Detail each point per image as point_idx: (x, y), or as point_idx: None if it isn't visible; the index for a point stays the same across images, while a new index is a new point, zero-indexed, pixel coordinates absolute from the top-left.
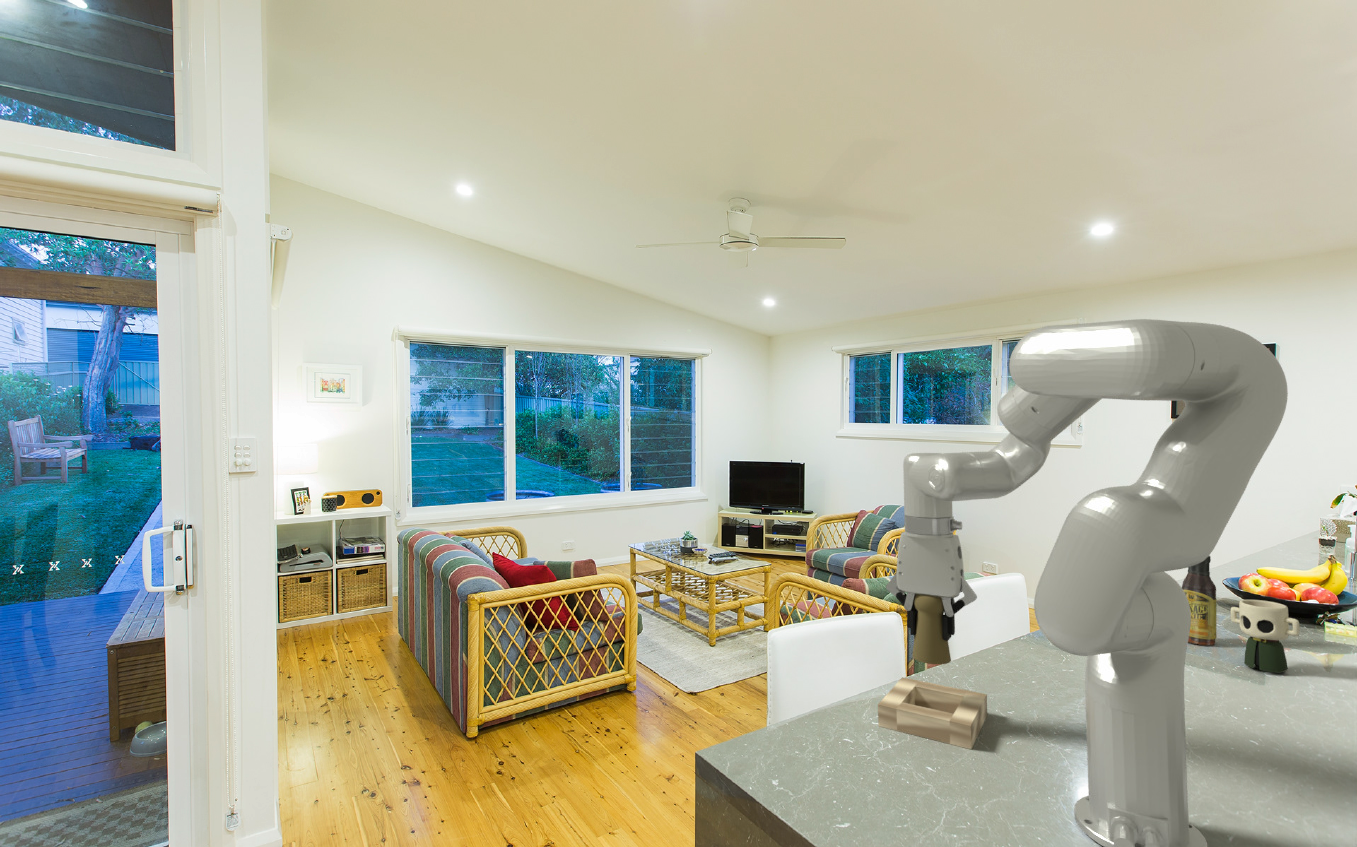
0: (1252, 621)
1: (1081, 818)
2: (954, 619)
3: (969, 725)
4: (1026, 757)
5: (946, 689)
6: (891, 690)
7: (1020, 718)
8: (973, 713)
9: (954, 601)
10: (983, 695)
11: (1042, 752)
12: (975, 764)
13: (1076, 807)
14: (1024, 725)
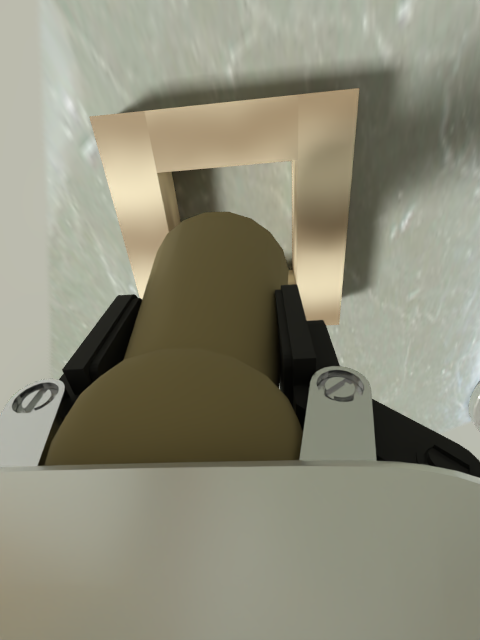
0: None
1: (477, 420)
2: (337, 363)
3: (336, 324)
4: (425, 274)
5: (240, 134)
6: (127, 244)
7: (433, 46)
8: (337, 261)
9: (372, 446)
10: (350, 107)
11: (459, 235)
12: (341, 343)
13: (478, 404)
14: (439, 99)
